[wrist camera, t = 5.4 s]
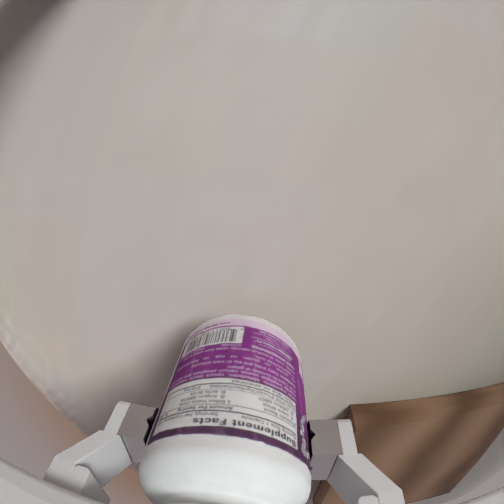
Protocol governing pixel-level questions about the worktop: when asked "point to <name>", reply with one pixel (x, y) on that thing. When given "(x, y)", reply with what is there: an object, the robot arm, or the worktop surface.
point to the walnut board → (425, 440)
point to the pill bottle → (231, 420)
